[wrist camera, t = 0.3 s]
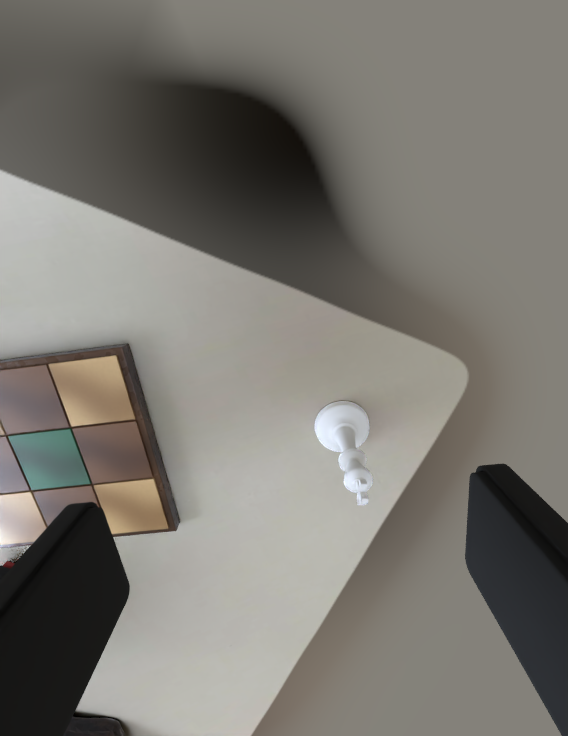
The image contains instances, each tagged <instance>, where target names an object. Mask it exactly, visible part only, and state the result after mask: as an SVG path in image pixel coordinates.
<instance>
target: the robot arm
mask: <svg viewBox="0 0 568 736" xmlns="http://www.w3.org/2000/svg"><path fill="white" fill-rule="evenodd" d="M467 519H468V520H467V535H466V553H465V559H466V564H467V568H468V570H469V573H470V575H471V576H472V578H473V580H474V582H475V583H476V585H477V587H478V589H479V590H480V592H481V593H482V596H483V597H484V599H485V601H486V603H487V605H488V606H489V608H490V610H491V612H492V613H493V615H494V617H495V619H496V620H497V622H498V624H499V626H500V627H501V629H502V631H503V632H504V634H505V636H506V638H507V640H508V641H509V643H510V645H511V647H512V649H513V650H514V652H515V654H516V655H517V657H518V659H519V661H520V662H521V664H522V666H523V668H524V669H525V671H526V673H527V675H528V677H529V678H530V680H531V682H532V684H533V686H534V687H535V689H536V691H537V693H538V694H539V696H540V698H541V700H542V701H543V703H544V705H545V707H546V708H547V710H548V712H549V714H550V715H551V717H552V719H553V721H554V722H555V724H556V726H557V728H558V730H559V731H560V733H561V735H562V736H568V523H567V522H566V521H565V520H564V519H563V518H562V517H561V516H560V515H559V514H558V513H557V512H556V511H554V510H553V509H552V508H551V507H550V506H549V505H548V504H547V503H546V502H545V501H544V500H543V499H542V498H541V497H540V496H539V495H538V494H537V493H536V492H535V491H533V489H532V488H531V487H530V486H529V485H527V484H526V483H525V482H524V481H523V480H522V479H521V478H520V477H519V476H518V475H517V474H516V473H515V472H514V471H513V470H512V469H511V468H510V467H509V466H507V465H506V464H495V465H483V466H479V467H478V468H477V470H476V472H475V473H472V474H471V475H470V483H469V501H468V518H467ZM129 590H130V586H129V581H128V579H127V576H126V573H125V570H124V567H123V564H122V562H121V559H120V556H119V553H118V550H117V547H116V544H115V542H114V539H113V536H112V533H111V530H110V527H109V525H108V522H107V519H106V516H105V513H104V511H103V509H102V508H101V507H98V506H97V504H96V503H94V502H85V503H74V504H69V505H67V506H66V507H65V508H64V509H63V510H62V511H61V512H60V514H59V515H58V516H57V517H56V518H55V519H54V520H53V521H52V523H51V524H50V525H49V526H48V527H47V528H46V529H45V530H44V532H43V533H42V534H41V535H40V536H39V537H38V538H37V539H36V540H35V542H34V543H33V544H32V545H31V546H30V547H29V548H28V549H27V551H26V552H25V553H24V554H23V555H22V556H21V557H20V558H19V560H18V561H17V562H16V563H15V564H14V565H13V566H12V567H11V569H10V570H9V571H8V572H7V573H6V574H5V575H4V576H3V577H2V579H1V580H0V736H64V733H65V731H66V729H67V727H68V725H69V723H70V721H71V719H72V716H73V714H74V712H75V710H76V708H77V706H78V704H79V702H80V699H81V697H82V695H83V693H84V691H85V689H86V687H87V685H88V682H89V680H90V678H91V676H92V674H93V672H94V670H95V668H96V665H97V663H98V661H99V659H100V657H101V655H102V653H103V651H104V648H105V646H106V644H107V642H108V640H109V638H110V636H111V634H112V631H113V629H114V627H115V625H116V623H117V621H118V619H119V617H120V614H121V612H122V610H123V608H124V606H125V604H126V602H127V599H128V596H129Z"/></svg>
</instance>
